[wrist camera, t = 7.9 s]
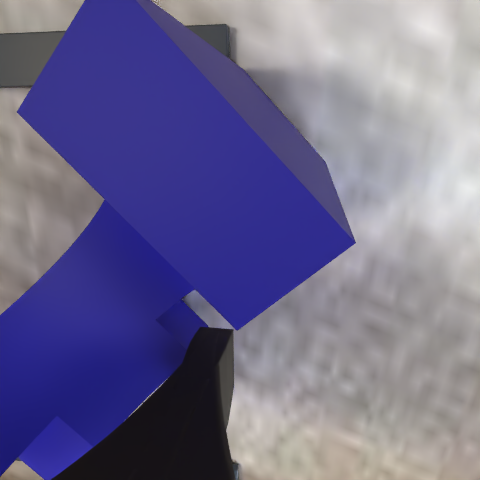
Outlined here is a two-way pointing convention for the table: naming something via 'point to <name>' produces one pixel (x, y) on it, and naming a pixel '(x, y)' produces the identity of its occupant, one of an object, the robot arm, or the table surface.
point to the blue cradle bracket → (152, 224)
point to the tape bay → (42, 47)
